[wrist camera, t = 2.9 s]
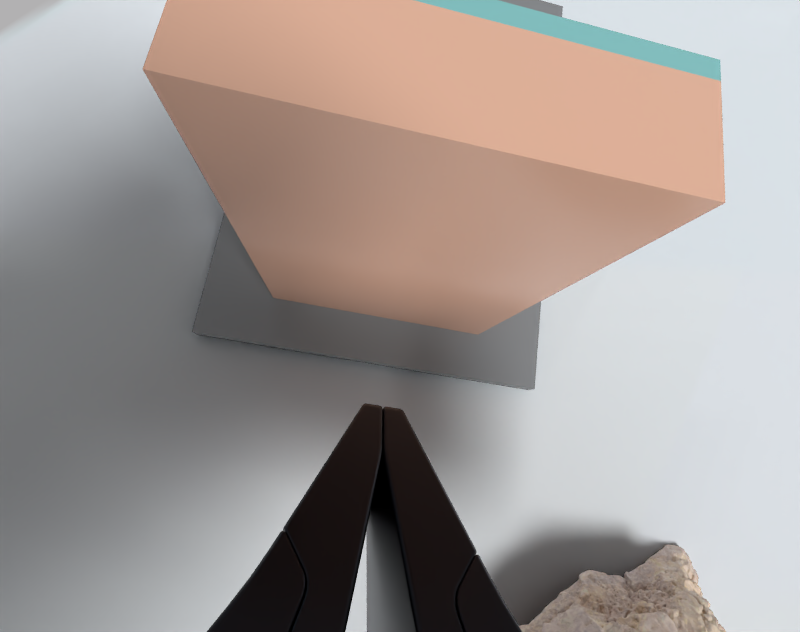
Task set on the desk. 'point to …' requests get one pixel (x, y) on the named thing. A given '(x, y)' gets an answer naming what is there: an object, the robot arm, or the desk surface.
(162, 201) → the desk surface
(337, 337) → the mat
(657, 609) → the rock
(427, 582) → the robot arm
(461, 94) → the tile
